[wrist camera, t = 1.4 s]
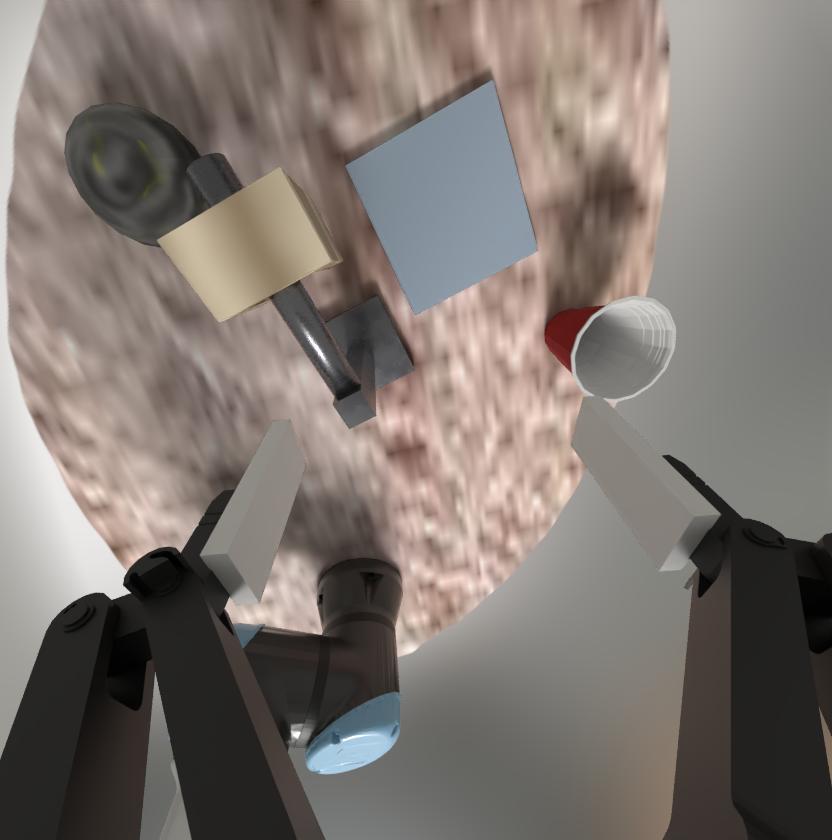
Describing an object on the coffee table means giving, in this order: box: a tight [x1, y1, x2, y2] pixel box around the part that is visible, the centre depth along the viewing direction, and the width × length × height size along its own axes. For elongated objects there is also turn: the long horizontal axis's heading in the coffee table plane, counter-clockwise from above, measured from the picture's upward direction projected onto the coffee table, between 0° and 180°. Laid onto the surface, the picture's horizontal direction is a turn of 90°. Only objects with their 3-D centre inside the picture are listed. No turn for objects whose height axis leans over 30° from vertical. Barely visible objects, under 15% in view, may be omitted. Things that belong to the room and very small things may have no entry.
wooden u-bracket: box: [157, 167, 344, 323], centre depth 24 cm, size 8×5×10 cm, turn 116°
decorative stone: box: [64, 103, 210, 248], centre depth 28 cm, size 10×10×10 cm
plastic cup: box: [545, 296, 676, 402], centre depth 38 cm, size 11×11×12 cm
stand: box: [186, 153, 415, 429], centre depth 31 cm, size 10×22×18 cm, turn 26°
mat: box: [346, 80, 538, 315], centre depth 36 cm, size 16×16×1 cm
